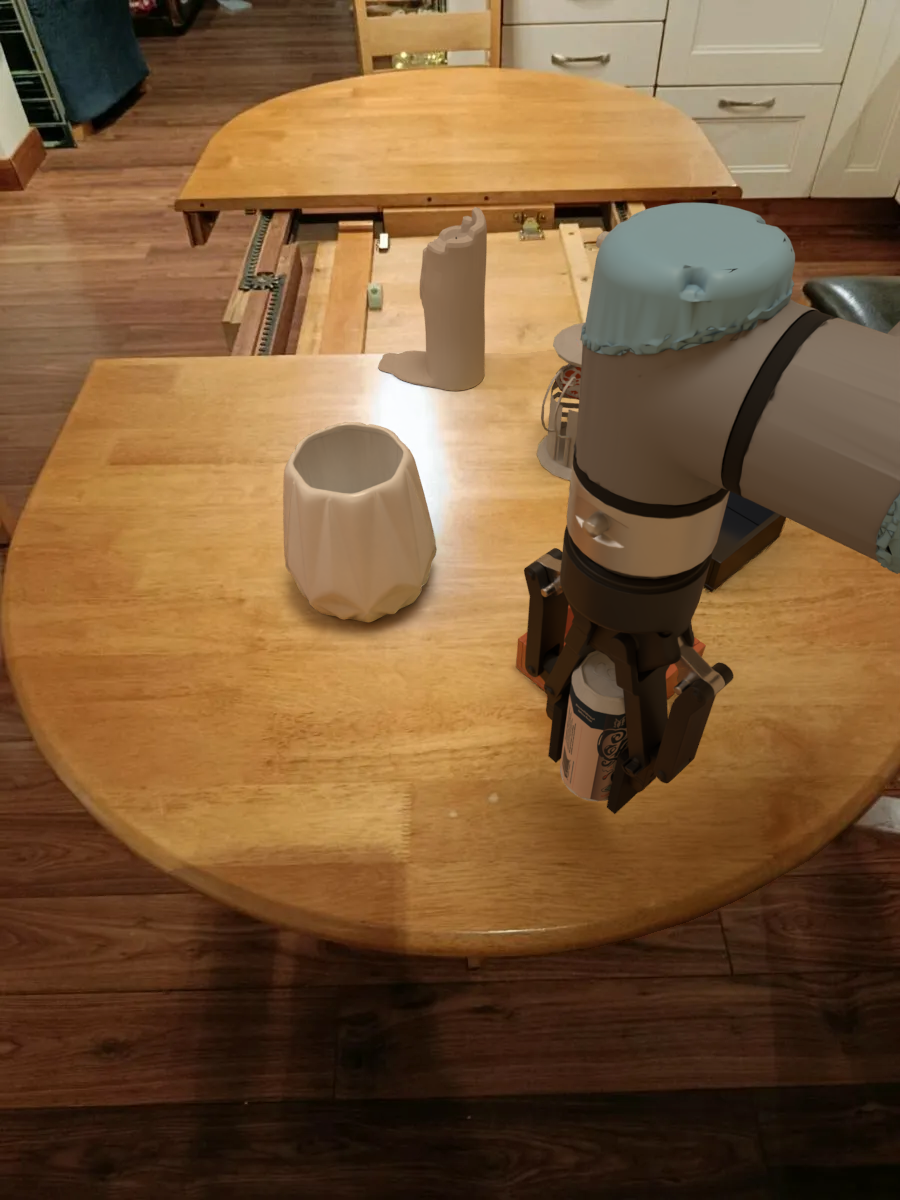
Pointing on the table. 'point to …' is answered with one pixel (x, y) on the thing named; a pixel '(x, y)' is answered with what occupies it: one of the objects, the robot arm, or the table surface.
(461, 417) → the table surface
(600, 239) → the french press
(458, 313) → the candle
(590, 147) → the table surface
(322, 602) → the vase
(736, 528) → the black bin
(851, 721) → the table surface
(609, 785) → the beer can
